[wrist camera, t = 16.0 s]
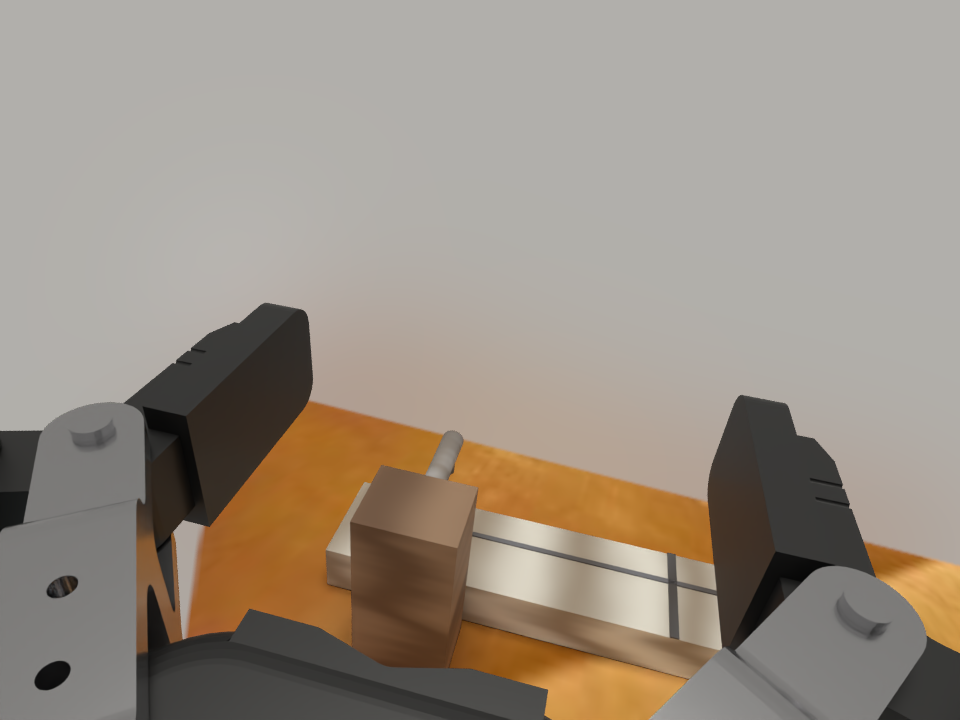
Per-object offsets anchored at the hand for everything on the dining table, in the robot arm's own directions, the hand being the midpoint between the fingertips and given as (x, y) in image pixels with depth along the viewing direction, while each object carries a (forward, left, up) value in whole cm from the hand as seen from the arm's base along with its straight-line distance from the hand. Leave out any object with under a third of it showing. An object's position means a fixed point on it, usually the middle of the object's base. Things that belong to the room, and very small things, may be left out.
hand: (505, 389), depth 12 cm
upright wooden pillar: (+13, -7, -26) cm, 30 cm away
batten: (+9, -15, -26) cm, 31 cm away
